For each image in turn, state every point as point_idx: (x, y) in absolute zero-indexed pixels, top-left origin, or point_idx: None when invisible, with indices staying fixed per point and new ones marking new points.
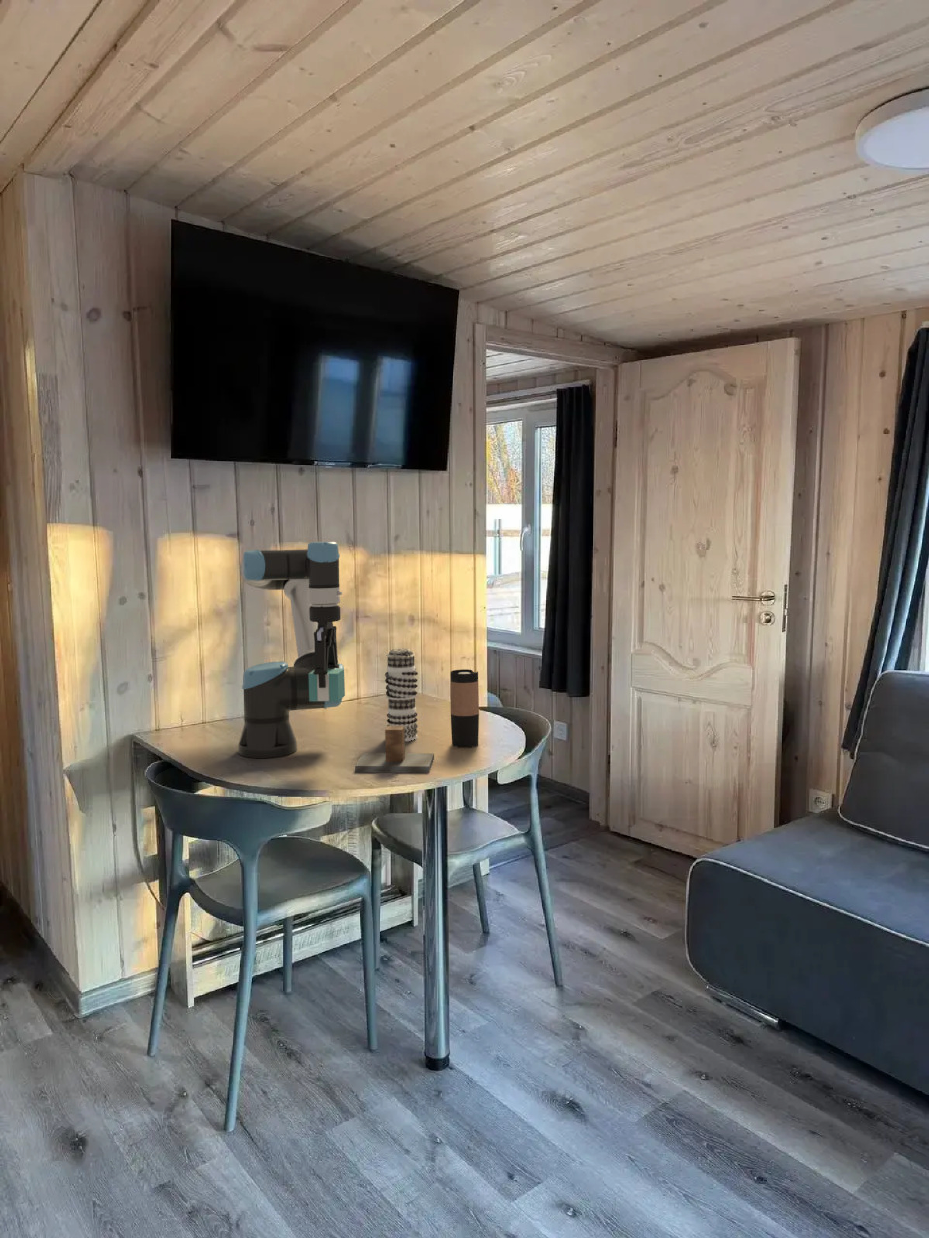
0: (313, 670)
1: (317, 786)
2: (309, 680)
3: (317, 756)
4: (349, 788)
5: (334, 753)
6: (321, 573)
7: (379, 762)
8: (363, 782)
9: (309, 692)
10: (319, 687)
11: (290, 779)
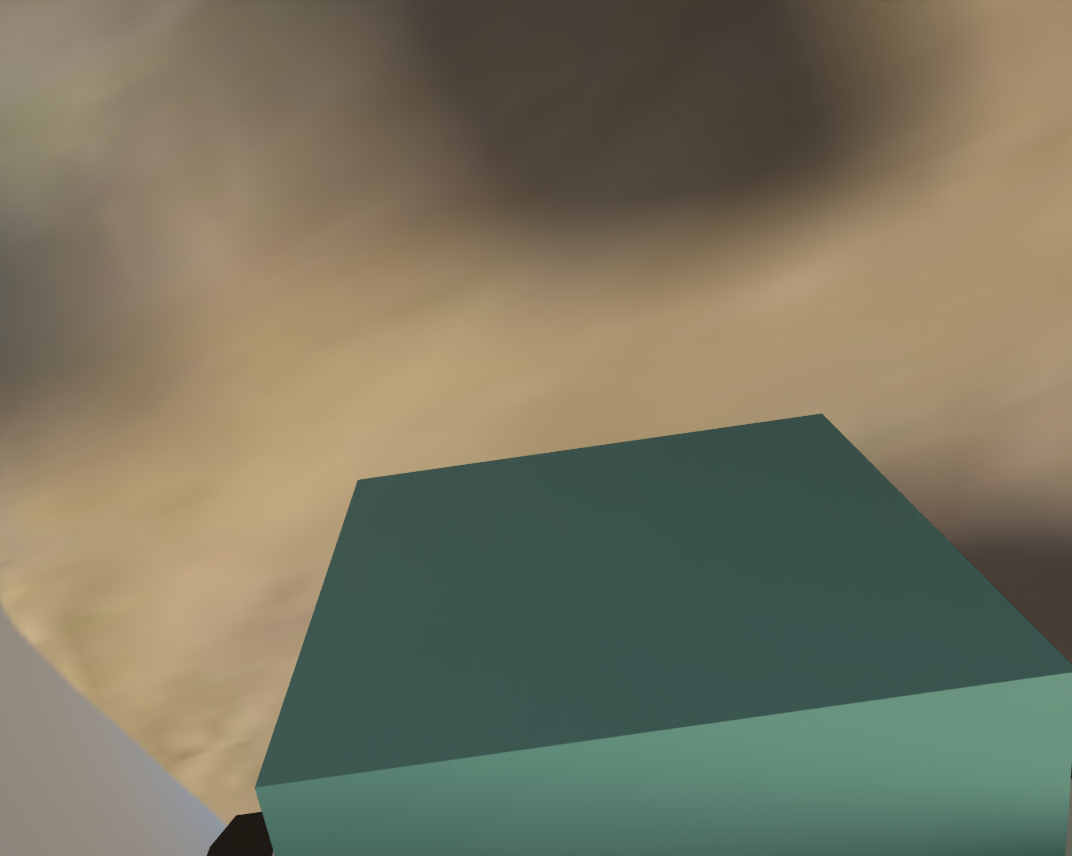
0: (801, 712)
1: (50, 470)
2: (296, 689)
3: (791, 173)
4: (83, 665)
5: (889, 277)
6: None
7: None
8: (224, 699)
9: (337, 550)
10: (231, 828)
11: (137, 220)
